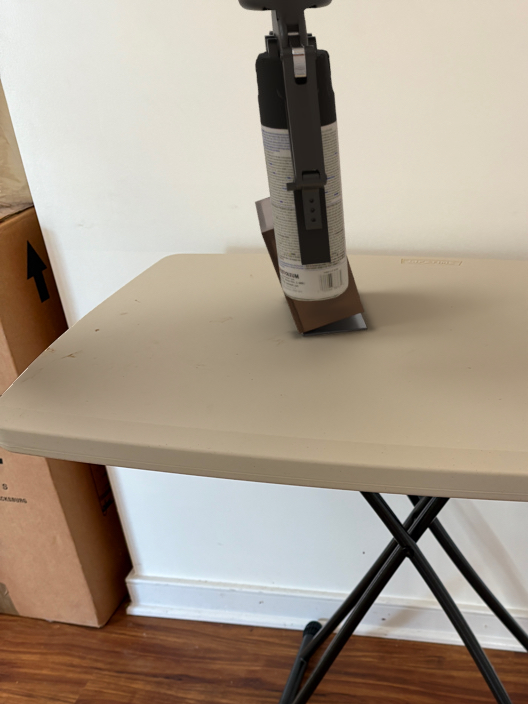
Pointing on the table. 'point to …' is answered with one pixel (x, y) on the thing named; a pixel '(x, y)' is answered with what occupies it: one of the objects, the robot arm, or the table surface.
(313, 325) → the brown box with handle
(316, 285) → the spray can
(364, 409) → the table surface
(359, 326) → the stand
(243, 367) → the table surface
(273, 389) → the table surface
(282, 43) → the robot arm
